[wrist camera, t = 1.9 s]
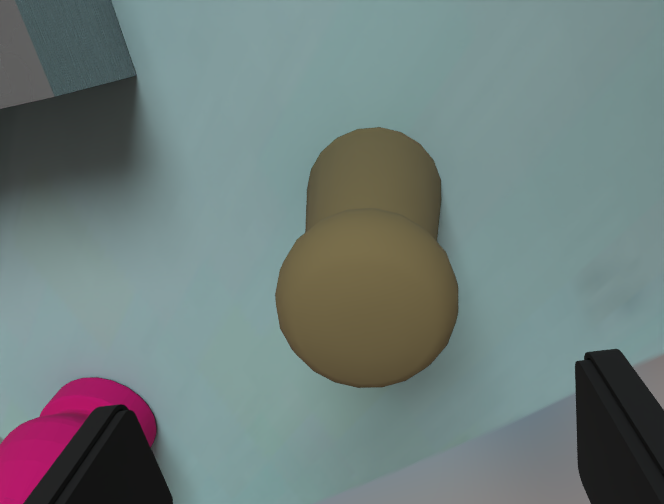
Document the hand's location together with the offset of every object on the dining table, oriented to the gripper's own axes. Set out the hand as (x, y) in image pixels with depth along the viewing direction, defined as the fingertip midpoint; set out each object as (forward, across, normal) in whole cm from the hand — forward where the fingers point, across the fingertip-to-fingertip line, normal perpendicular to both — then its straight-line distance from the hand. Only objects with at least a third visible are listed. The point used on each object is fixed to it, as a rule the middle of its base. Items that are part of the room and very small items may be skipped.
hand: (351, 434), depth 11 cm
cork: (+14, 0, -1) cm, 14 cm away
